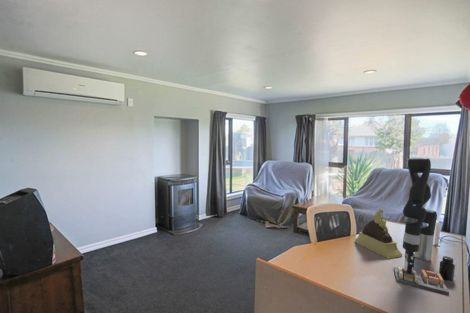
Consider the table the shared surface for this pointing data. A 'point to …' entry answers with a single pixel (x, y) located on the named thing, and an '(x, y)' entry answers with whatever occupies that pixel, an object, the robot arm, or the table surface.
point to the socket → (432, 277)
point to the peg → (406, 268)
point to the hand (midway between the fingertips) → (408, 269)
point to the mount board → (418, 281)
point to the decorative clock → (378, 238)
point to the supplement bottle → (447, 268)
